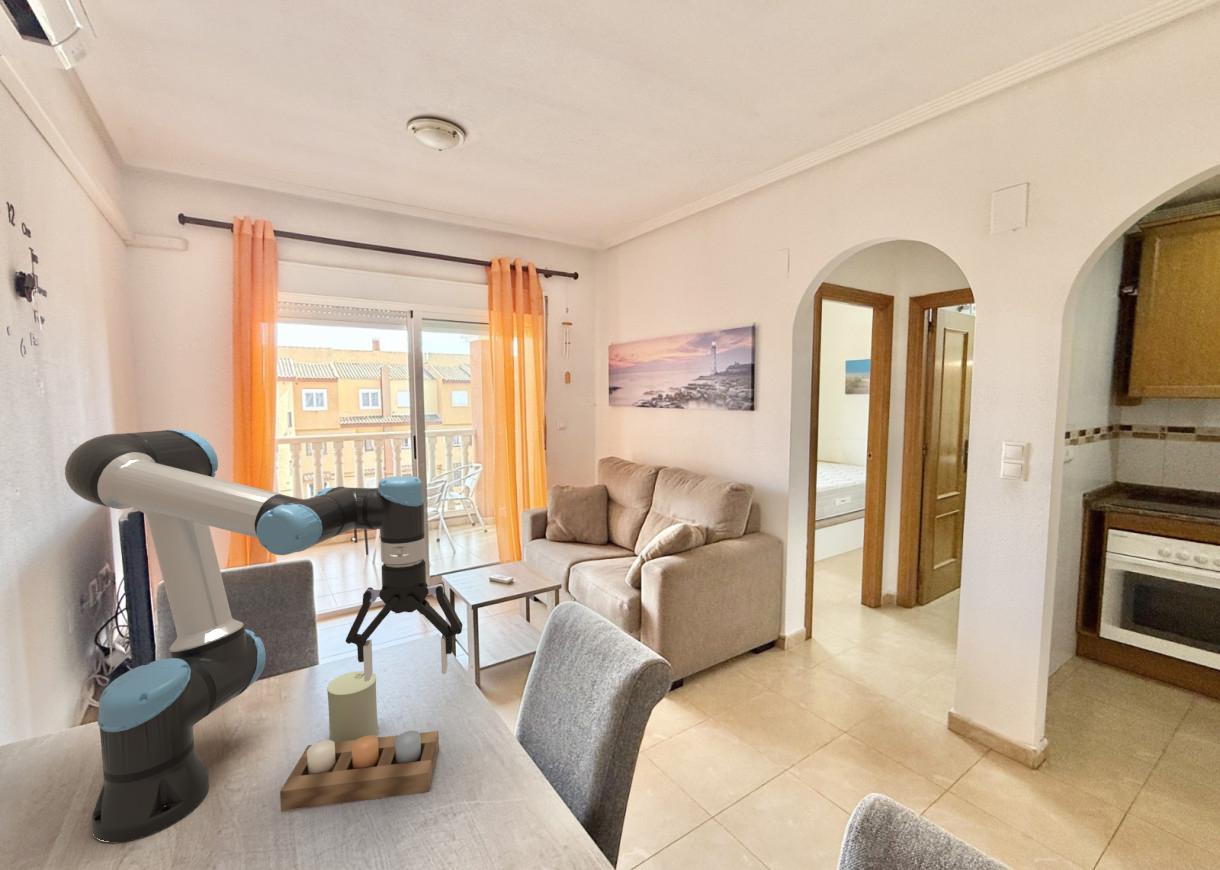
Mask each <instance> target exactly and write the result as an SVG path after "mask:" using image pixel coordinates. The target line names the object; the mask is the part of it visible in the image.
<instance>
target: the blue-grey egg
mask: <svg viewBox="0 0 1220 870" xmlns="http://www.w3.org/2000/svg"><path fill="white" fill-rule="evenodd" d="M420 733H421V732H419V731H416V730H407V731H404V732H402V733H400V734H398V735H399V736H398V737H397V738H396V739H395V750H396V764H401V763H410V762H418V761H421V737H420Z"/></svg>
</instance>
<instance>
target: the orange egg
mask: <svg viewBox="0 0 1220 870" xmlns="http://www.w3.org/2000/svg"><path fill="white" fill-rule="evenodd" d="M378 762H379V749H378V736H377V735H376V736H373V735H368V736H364V737H361V738H359V739H357V740H356V741H355V742H354V743H353V744H352V764H353V769H360V768H368V767H377V765H378Z"/></svg>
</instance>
